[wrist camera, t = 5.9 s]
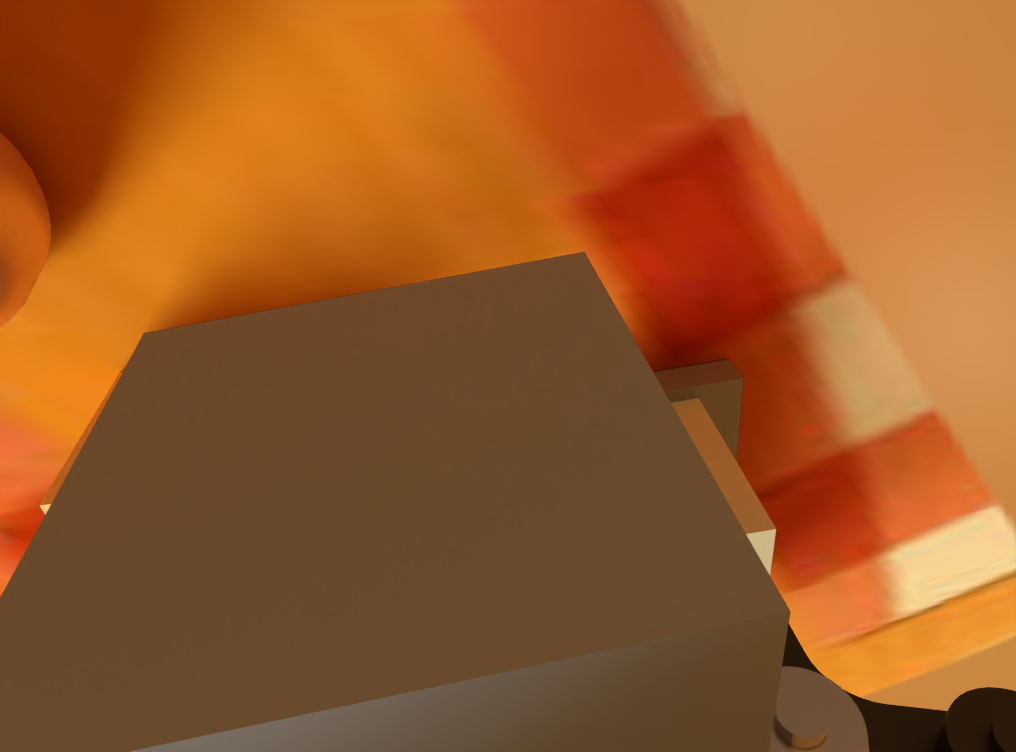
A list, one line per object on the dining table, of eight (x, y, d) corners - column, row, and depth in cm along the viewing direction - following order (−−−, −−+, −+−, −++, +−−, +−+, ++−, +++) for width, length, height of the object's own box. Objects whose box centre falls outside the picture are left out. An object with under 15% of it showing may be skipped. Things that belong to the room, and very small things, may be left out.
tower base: (502, 578, 29) (527, 750, 23) (471, 401, 24) (492, 565, 18) (717, 540, 30) (796, 701, 24) (730, 359, 25) (834, 505, 19)
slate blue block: (314, 678, 14) (278, 1101, 9) (144, 333, 10) (-111, 804, 5) (611, 615, 14) (731, 992, 9) (583, 251, 10) (789, 610, 5)
